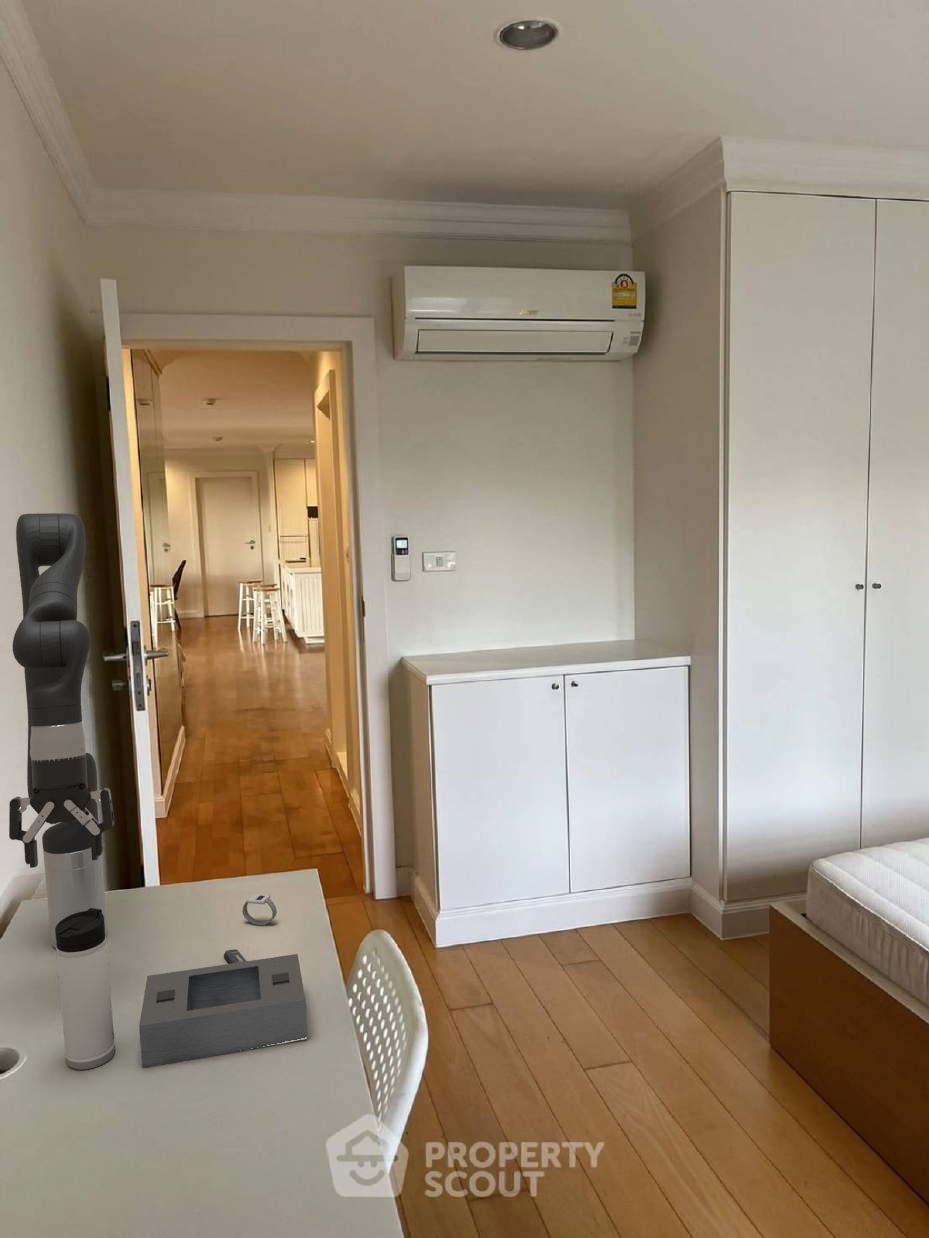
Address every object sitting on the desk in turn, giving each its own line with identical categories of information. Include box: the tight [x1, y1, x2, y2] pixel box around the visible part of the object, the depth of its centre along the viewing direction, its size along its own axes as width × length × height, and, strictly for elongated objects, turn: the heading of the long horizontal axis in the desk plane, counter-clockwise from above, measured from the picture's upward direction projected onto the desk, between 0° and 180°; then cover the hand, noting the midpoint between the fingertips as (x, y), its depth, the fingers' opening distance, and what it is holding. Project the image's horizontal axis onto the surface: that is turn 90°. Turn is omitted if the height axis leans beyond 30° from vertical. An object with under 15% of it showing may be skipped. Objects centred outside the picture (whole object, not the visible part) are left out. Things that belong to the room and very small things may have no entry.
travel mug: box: [55, 908, 116, 1071], centre depth 126 cm, size 6×7×20 cm
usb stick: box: [223, 949, 247, 964], centre depth 152 cm, size 10×3×2 cm, turn 32°
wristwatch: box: [242, 893, 278, 926], centre depth 167 cm, size 6×3×5 cm, turn 77°
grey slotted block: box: [138, 953, 308, 1069], centre depth 133 cm, size 14×22×6 cm, turn 104°
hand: (64, 862), depth 138 cm, fingers open, 8 cm apart
